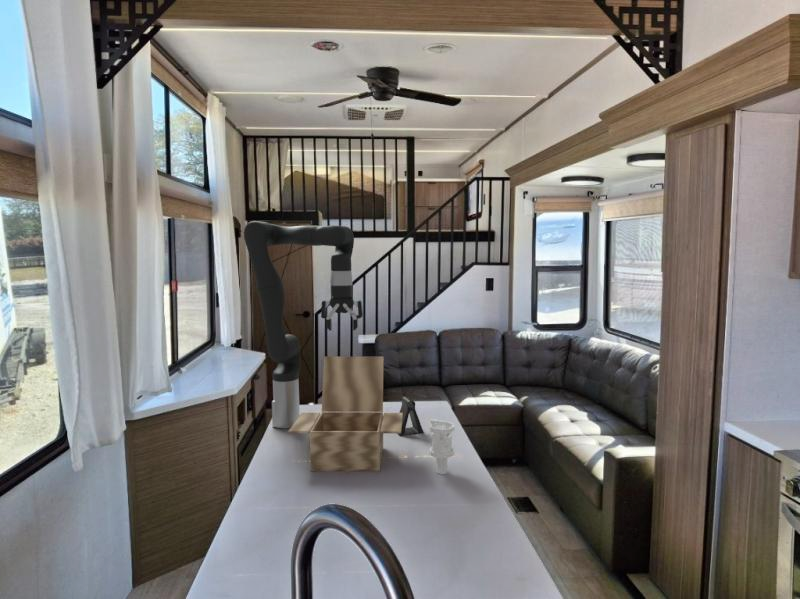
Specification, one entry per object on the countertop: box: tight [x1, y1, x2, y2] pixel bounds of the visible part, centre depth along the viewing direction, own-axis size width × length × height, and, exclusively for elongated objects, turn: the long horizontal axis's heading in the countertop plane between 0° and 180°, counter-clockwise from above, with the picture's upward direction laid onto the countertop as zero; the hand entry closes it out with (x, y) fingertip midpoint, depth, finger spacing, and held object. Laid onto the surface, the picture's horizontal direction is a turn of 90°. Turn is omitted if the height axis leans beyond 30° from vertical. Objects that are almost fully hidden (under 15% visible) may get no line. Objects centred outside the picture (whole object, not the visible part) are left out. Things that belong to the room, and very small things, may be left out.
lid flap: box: [321, 355, 385, 413], centre depth 171 cm, size 20×18×7 cm
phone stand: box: [396, 395, 424, 437], centre depth 180 cm, size 9×6×12 cm, turn 108°
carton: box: [288, 411, 403, 473], centre depth 156 cm, size 33×18×12 cm, turn 88°
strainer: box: [429, 418, 455, 475], centre depth 147 cm, size 7×7×15 cm
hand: (342, 330), depth 179 cm, fingers open, 8 cm apart
